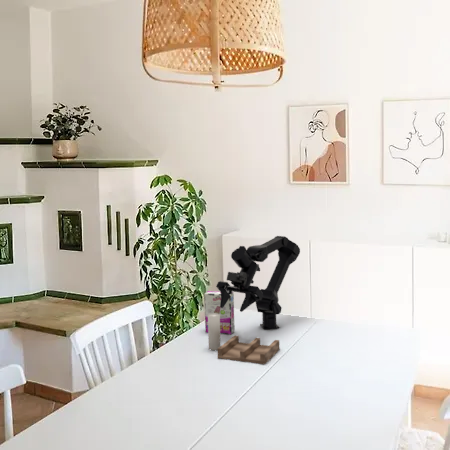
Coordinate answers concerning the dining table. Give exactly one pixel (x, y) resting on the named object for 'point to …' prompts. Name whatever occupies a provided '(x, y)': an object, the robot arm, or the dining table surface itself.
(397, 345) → the dining table surface
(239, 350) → the wooden compartment tray
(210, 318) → the rounded tapered clay block
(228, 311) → the candy bar box
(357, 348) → the dining table surface
